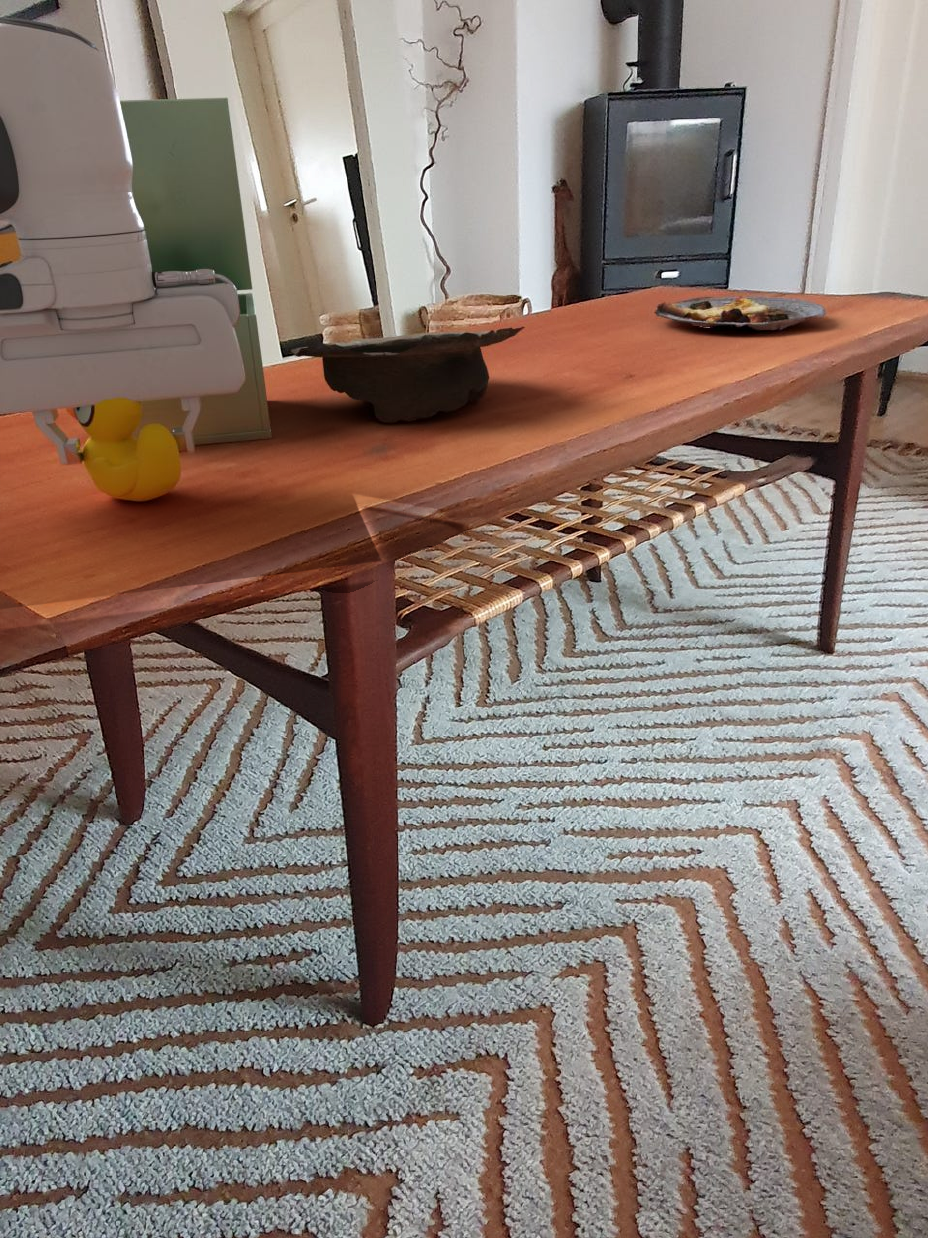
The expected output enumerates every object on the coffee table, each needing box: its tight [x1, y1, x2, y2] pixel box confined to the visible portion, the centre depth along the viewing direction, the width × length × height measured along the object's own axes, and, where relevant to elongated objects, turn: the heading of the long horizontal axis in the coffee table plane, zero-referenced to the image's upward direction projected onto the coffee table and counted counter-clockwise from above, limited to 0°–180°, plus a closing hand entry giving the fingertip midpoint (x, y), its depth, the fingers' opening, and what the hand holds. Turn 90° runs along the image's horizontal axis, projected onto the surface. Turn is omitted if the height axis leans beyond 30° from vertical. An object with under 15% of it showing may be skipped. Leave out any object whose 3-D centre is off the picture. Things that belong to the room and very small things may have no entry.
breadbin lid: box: [119, 97, 253, 295], centre depth 97 cm, size 18×16×5 cm
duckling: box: [65, 398, 182, 502], centre depth 75 cm, size 11×5×10 cm, turn 59°
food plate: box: [654, 295, 827, 331], centre depth 143 cm, size 25×23×4 cm
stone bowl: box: [290, 326, 526, 424], centre depth 102 cm, size 25×25×9 cm
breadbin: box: [131, 292, 273, 446], centre depth 96 cm, size 18×16×12 cm
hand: (129, 457), depth 76 cm, fingers closed on duckling, 7 cm apart
